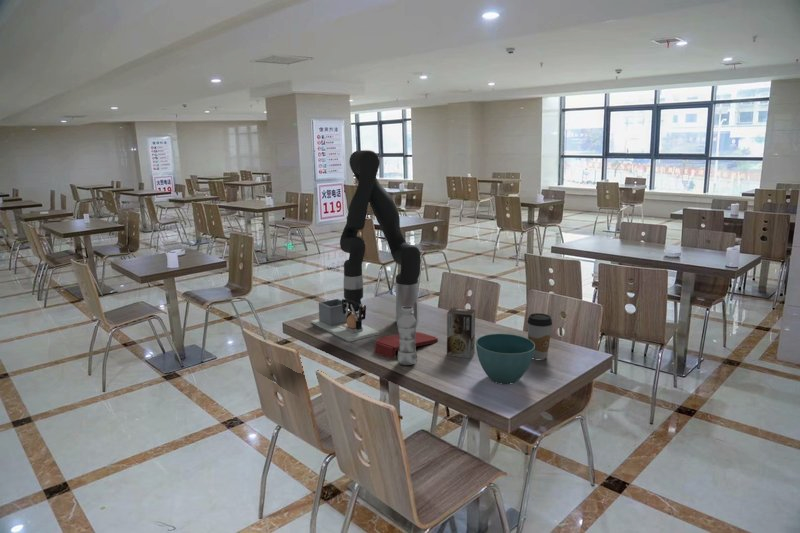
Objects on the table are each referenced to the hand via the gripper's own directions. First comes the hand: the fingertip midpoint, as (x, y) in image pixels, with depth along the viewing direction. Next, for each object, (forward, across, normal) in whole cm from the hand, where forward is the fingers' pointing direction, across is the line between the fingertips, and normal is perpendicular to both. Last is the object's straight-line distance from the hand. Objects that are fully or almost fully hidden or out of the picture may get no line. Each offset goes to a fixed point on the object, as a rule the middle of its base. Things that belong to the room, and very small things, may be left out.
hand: (354, 327), depth 219 cm
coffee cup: (+3, -62, -36) cm, 72 cm away
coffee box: (+3, -42, -17) cm, 46 cm away
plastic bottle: (+3, -37, +3) cm, 38 cm away
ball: (-2, 0, 0) cm, 2 cm away
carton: (+3, -24, -7) cm, 25 cm away
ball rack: (+3, +8, 0) cm, 8 cm away
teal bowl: (+3, -66, -13) cm, 68 cm away
